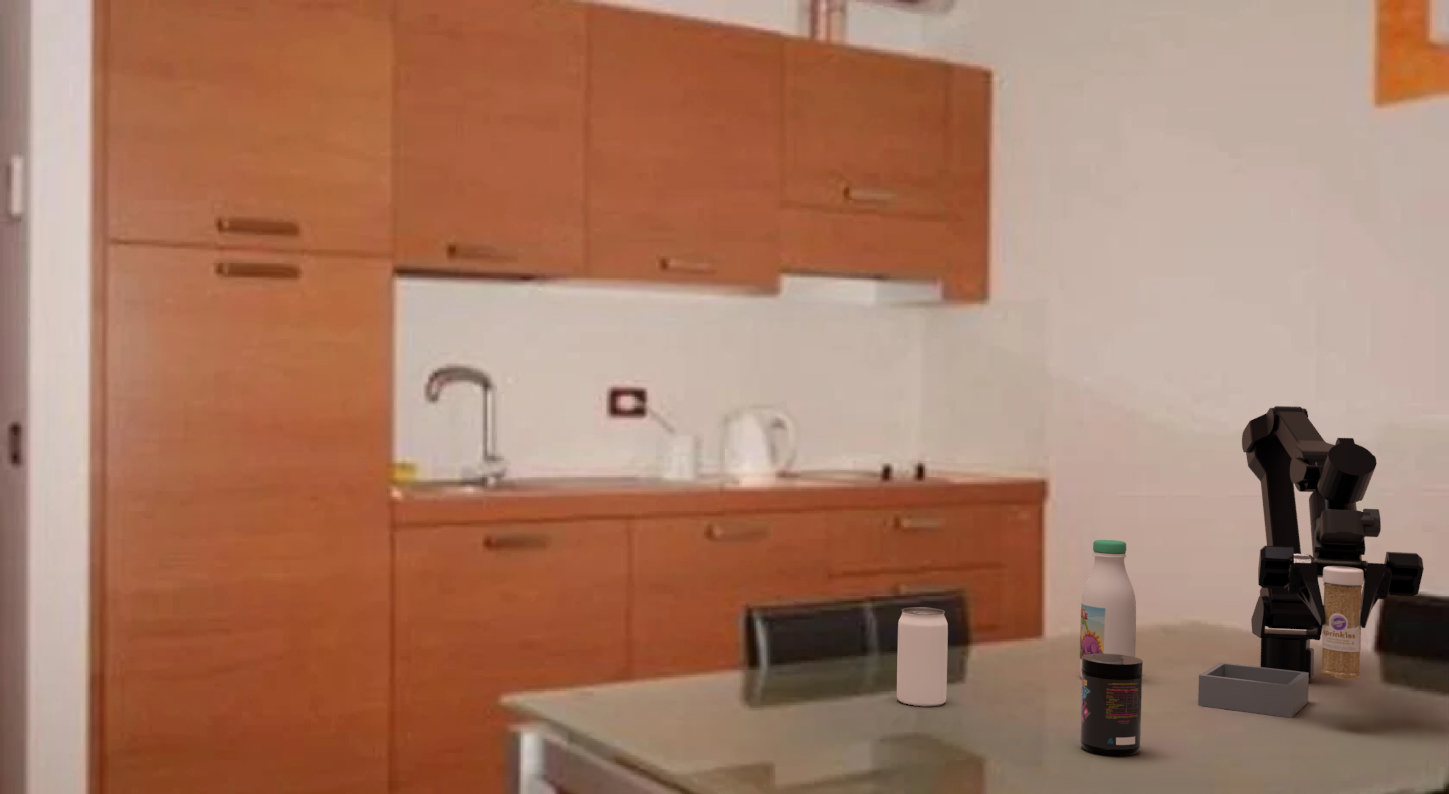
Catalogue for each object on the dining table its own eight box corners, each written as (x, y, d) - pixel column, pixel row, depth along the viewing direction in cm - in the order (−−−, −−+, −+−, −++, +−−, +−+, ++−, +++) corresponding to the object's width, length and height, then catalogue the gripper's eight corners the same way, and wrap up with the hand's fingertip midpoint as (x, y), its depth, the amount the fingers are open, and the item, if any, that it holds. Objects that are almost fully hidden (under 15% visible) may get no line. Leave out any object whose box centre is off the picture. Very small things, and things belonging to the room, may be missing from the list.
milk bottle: (1129, 675, 202) (1131, 539, 202) (1139, 686, 194) (1142, 544, 194) (1075, 673, 203) (1078, 537, 203) (1084, 683, 195) (1086, 542, 195)
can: (945, 709, 177) (947, 615, 177) (894, 705, 178) (896, 612, 178) (947, 698, 183) (949, 608, 183) (898, 695, 184) (900, 605, 184)
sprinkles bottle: (1321, 678, 168) (1324, 568, 168) (1319, 671, 173) (1321, 564, 173) (1362, 681, 167) (1365, 570, 167) (1359, 674, 171) (1361, 566, 171)
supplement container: (1114, 741, 161) (1116, 652, 161) (1153, 755, 155) (1155, 662, 155) (1067, 745, 159) (1069, 655, 159) (1105, 760, 153) (1107, 666, 153)
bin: (1198, 705, 182) (1198, 675, 182) (1219, 691, 192) (1219, 662, 192) (1291, 717, 176) (1292, 686, 176) (1308, 702, 186) (1308, 672, 186)
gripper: (1261, 482, 176) (1265, 579, 166) (1422, 488, 171) (1437, 589, 160) (1256, 538, 184) (1259, 634, 173) (1410, 545, 178) (1423, 645, 168)
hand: (1343, 624), depth 169 cm, fingers closed on sprinkles bottle, 4 cm apart
